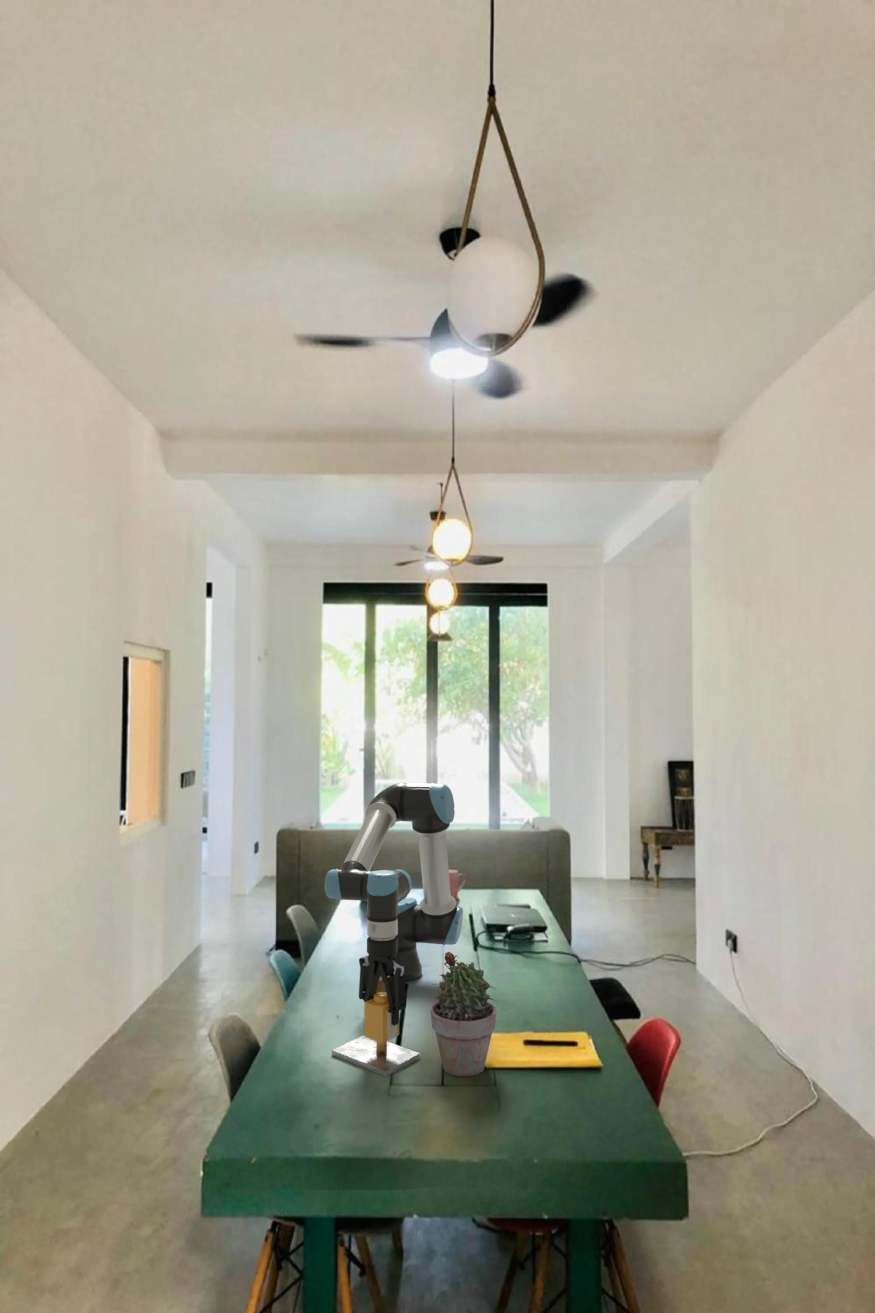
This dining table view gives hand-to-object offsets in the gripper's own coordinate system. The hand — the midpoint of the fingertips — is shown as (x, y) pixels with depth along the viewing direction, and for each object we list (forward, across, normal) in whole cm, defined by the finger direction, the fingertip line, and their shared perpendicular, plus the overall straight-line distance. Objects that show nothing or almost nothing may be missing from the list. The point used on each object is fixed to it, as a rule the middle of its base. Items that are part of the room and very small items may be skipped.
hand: (381, 1034), depth 183 cm
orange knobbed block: (0, 0, 0) cm, 0 cm away
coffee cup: (+6, -20, +20) cm, 29 cm away
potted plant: (+6, +19, +9) cm, 22 cm away
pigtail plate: (+6, -2, 0) cm, 6 cm away
